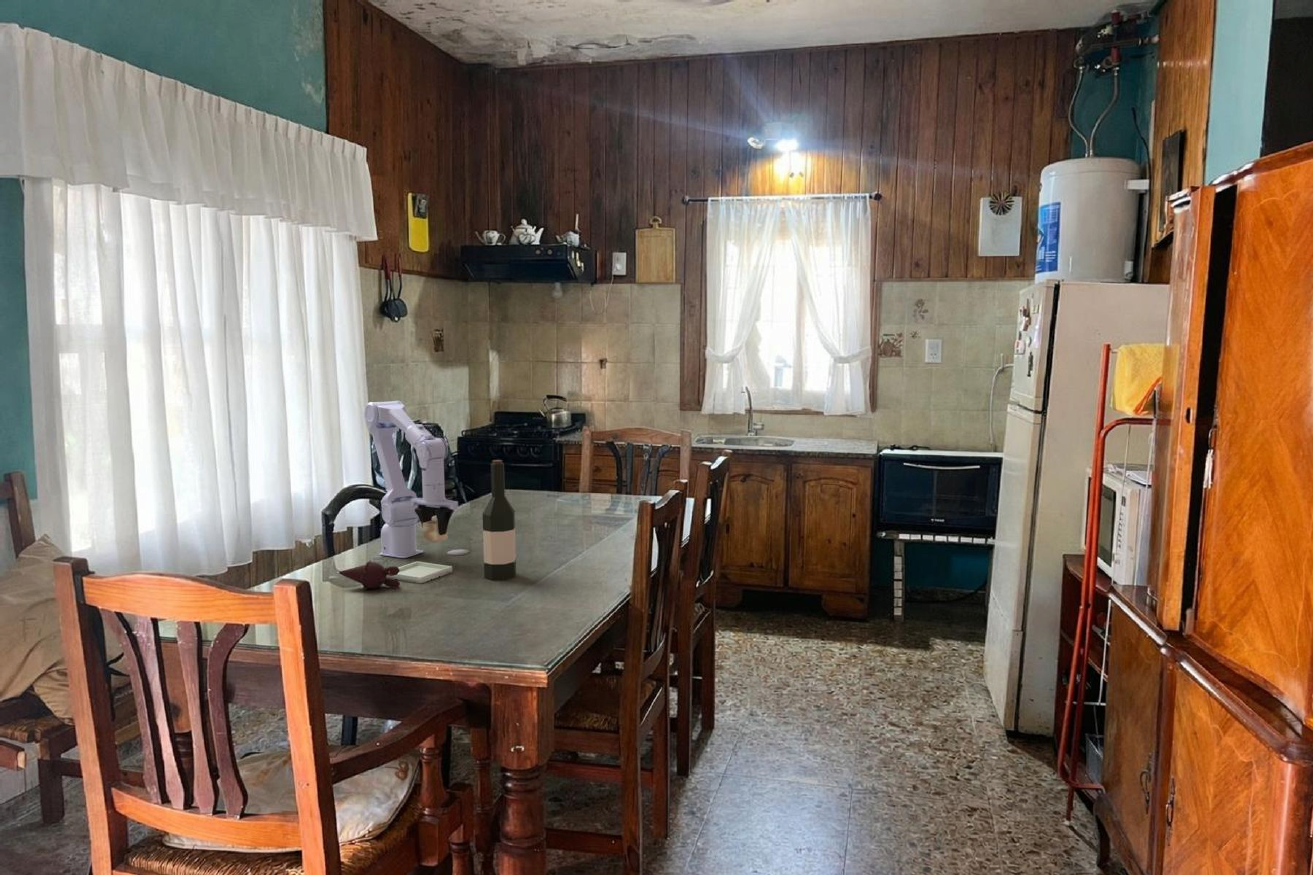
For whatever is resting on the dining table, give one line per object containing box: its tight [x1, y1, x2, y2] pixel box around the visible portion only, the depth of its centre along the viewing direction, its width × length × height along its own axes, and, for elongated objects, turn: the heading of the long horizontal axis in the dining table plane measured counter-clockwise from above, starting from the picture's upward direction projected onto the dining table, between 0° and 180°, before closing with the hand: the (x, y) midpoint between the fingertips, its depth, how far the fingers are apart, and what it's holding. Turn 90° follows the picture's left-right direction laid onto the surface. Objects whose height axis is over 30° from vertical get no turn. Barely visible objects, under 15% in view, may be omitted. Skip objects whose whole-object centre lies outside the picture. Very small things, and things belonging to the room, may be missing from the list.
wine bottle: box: [482, 459, 517, 582], centre depth 219 cm, size 8×8×30 cm
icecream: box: [338, 560, 401, 590], centre depth 211 cm, size 7×7×15 cm
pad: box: [447, 548, 470, 556], centre depth 246 cm, size 6×6×1 cm
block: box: [422, 519, 449, 543], centre depth 232 cm, size 4×4×5 cm
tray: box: [386, 560, 453, 584], centre depth 223 cm, size 12×12×2 cm
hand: (435, 533), depth 232 cm, fingers closed on block, 4 cm apart
